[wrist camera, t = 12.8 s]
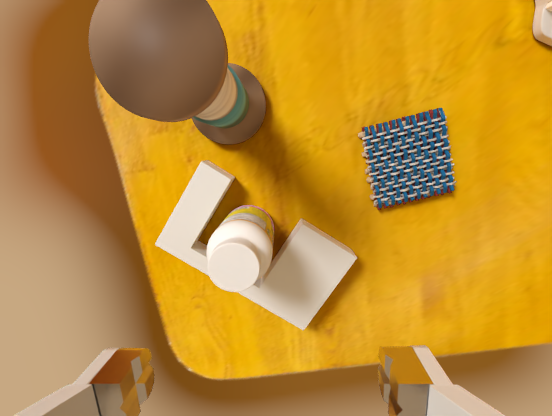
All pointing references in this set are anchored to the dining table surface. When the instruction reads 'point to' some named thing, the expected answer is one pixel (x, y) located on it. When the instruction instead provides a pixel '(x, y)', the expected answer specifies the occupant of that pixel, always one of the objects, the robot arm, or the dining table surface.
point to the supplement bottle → (241, 248)
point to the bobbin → (174, 67)
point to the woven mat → (408, 158)
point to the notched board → (285, 266)
